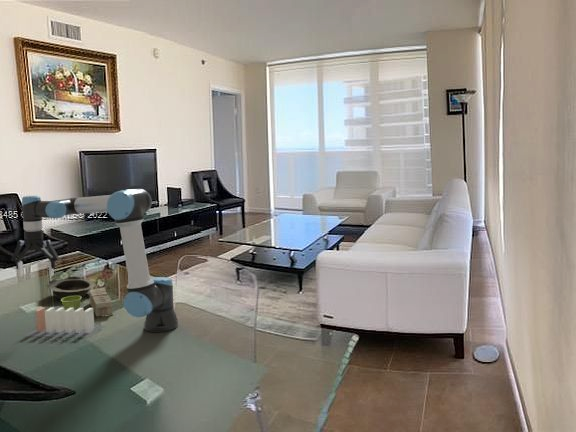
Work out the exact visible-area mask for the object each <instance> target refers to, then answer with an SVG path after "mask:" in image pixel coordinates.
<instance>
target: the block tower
mask: <svg viewBox="0 0 576 432" xmlns="http://www.w3.org/2000/svg"><path fill="white" fill-rule="evenodd" d="M88 292H89V305H90V306H92V307H91V308H93V310H94V311H93V313H94V312H95V314H96V316H102V317H106V316H105V315H112V316H113V315H114V314H113V313H114V312H113V301H112V299H111V297H110V295H108V293H107V291H106V289H105V288H104V287H99V288H94V289H92V290H91V289H89V291H88ZM95 314H94V315H95ZM103 315H104V316H103ZM96 316H95V317H96Z"/></svg>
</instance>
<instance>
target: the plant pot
mask: <svg viewBox="0 0 576 432" xmlns="http://www.w3.org/2000/svg"><path fill="white" fill-rule="evenodd" d="M82 298H83V297H81V296H68V297H65V298H62V299H61V300H60V301H61V302H62V303H61V304H62V305H63V308H64V310H67V309H69V308H74V311H75V310H77V309H79V308H81V301H82Z"/></svg>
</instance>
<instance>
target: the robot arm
mask: <svg viewBox="0 0 576 432" xmlns="http://www.w3.org/2000/svg"><path fill="white" fill-rule="evenodd" d="M152 203H153V200H152V197H151V194H150V193H149V192H148V191H147V190H145V189H143V188H132V189H121V190H118V191H115V192H113V193H112V194H108V195H96V196H84V197H82V196H81V197H71V198H64V199H63V198H62V199H56V200H42V199H41V196H39V195H26V196H22V198H21V209H22V210H21V211H22V221H23V224H22V225H23V230H24V232H23V234H24V235H23V236H24V237H23V239H24V240H22V239H20V240H18V241H17V242H16V248H15V249H14V252H13V254H12V256H11V259H10V261H11V262H15V268H16V269H17V271H18V277H23V276H24V263H23V261H22V259H23V258H24V257H25V255H26V254H27V253H28V252H29V251H31V252H33V251H39V252H41V253H42V254H43V255H44V256H45V257H46V258H47V259H48V260H49V262H48V268H49V269H48V270H49V271H48V272H49V277H53V276H54V275H55V273H54V272H55V271H54V269H55V268H56V261H58V260H59V259H60V257H59V255H58V253H57V251H56V250H55V248H54V246H53V245H52V240H51V239H47V240H44V231H43V218H45V219H48V218H49V219H62V218H63V217H65V216H68V215H69V216H72V215H80V214H93V213H107V214H109V216H111V218H112V219H114V224H115V225H116V226H118V227H119V230H120V236H121V241H122V248H123V254H124V258H125V264H126V271H127V275H128V276H127V277H128V284H127V285H126V294H125V297H124V298H123V307H124V309H125V311H126V312H127V314H130V315H131V316H132V317H134V318H143V317H145V316H146V317H145V320H144V323H143V325H144V326H143V328H144V330H145V331H147V332H150V333H164V332H169V331H172V330H174V329H176V328H178V326H179V320H178V316H177V314H176V312H175V310H174V285H173V280H172V279H171V278H170V277H165V276H164V277H163V276H156V277H151V276H150V269H149V265H148V259H147V253H146V247H145V246H146V245H145V241H144V240H145V239H144V236H143V229H142V223H143V221H144V220H145V219H144V214H146V213H147V212H149V210H150V209H151V207H152ZM44 245H45V246H46V247H45V246H44ZM23 246H25V248H23ZM22 248H23V251H21V249H22ZM46 248H47V249H48V250H47V249H46ZM20 251H21V252H20Z"/></svg>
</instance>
